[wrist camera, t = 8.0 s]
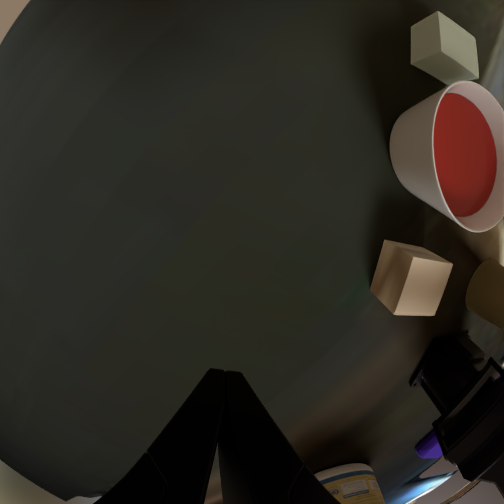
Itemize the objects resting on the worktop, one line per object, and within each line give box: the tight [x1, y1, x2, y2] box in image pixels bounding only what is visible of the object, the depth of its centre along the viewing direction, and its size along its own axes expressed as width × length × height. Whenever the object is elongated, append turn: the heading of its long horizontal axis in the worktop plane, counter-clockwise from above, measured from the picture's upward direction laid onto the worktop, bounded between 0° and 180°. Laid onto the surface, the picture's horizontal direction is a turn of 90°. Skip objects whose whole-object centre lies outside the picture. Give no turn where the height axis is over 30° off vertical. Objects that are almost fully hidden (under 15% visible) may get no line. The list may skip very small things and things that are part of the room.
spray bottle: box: [415, 363, 504, 458], centre depth 28 cm, size 3×11×24 cm
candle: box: [390, 80, 504, 232], centre depth 14 cm, size 9×9×6 cm
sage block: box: [411, 11, 479, 85], centre depth 12 cm, size 4×4×4 cm
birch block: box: [370, 240, 453, 316], centre depth 18 cm, size 4×4×4 cm
